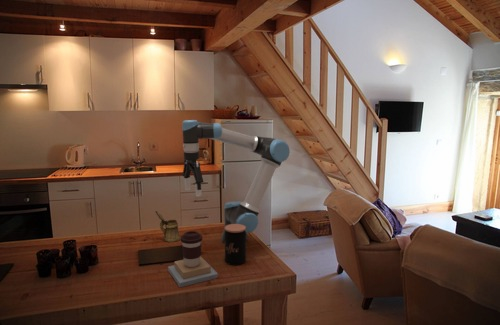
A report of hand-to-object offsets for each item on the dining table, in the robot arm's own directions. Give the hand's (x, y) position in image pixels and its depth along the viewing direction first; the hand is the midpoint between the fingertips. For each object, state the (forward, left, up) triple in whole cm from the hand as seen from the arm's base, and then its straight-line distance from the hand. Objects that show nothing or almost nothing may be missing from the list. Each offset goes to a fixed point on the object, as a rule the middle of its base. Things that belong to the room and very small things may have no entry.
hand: (193, 193), depth 175 cm
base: (+7, +17, -34) cm, 39 cm away
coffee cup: (+7, +17, -30) cm, 35 cm away
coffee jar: (-17, +14, -35) cm, 41 cm away
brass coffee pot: (+5, -30, -35) cm, 46 cm away
